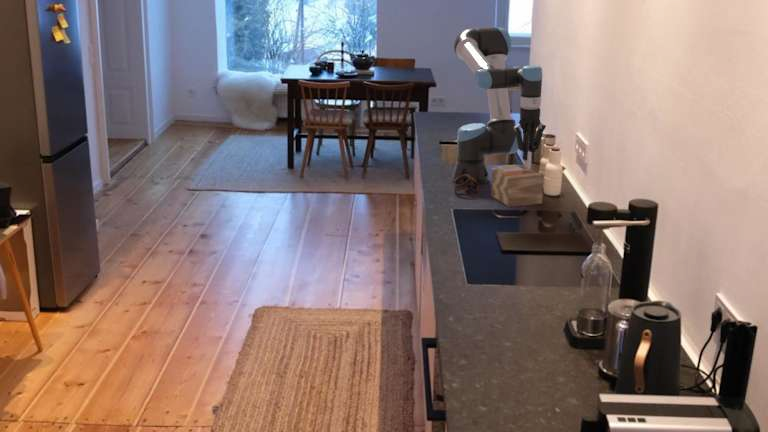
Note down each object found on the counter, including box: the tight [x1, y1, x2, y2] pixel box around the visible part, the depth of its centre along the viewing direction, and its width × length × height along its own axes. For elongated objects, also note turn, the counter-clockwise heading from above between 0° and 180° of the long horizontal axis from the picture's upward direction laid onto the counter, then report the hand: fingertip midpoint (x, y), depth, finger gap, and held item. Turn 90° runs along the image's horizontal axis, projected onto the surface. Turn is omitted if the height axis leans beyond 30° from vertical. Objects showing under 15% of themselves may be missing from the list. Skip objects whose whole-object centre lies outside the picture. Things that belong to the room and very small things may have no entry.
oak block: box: [490, 164, 544, 207], centre depth 331 cm, size 16×14×11 cm
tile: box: [497, 164, 523, 176], centre depth 328 cm, size 7×7×2 cm
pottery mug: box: [453, 174, 480, 194], centre depth 343 cm, size 12×9×8 cm
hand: (527, 167), depth 330 cm, fingers closed
